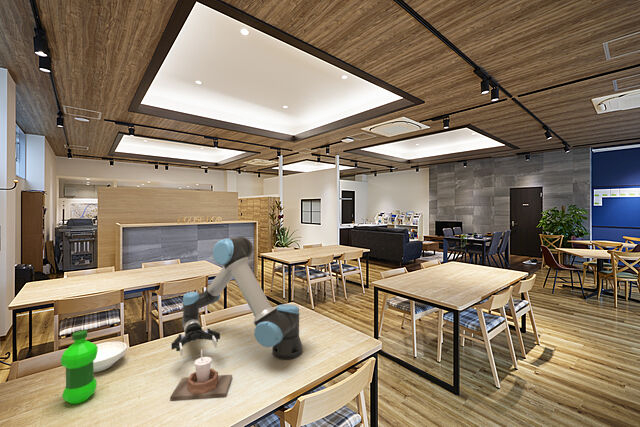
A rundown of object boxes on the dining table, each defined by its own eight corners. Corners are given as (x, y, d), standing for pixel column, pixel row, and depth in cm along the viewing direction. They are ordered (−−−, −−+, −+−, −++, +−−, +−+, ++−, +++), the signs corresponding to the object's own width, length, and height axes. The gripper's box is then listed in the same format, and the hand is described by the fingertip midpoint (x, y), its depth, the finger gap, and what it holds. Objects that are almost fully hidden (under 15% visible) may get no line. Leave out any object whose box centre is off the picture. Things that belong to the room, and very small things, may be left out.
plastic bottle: (73, 412, 98) (73, 340, 97) (55, 404, 101) (54, 336, 101) (104, 394, 107) (103, 329, 107) (86, 388, 111) (86, 325, 111)
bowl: (64, 385, 112) (64, 368, 112) (79, 362, 130) (78, 346, 130) (123, 372, 121) (123, 356, 121) (129, 352, 139) (129, 338, 139)
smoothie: (197, 380, 114) (197, 346, 113) (213, 379, 114) (213, 345, 114) (191, 390, 107) (191, 354, 107) (208, 389, 108) (208, 353, 108)
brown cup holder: (232, 378, 118) (232, 366, 118) (225, 397, 106) (225, 383, 106) (182, 381, 116) (182, 369, 115) (170, 400, 104) (170, 387, 104)
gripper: (219, 332, 144) (229, 349, 126) (164, 343, 131) (166, 365, 113) (219, 317, 144) (229, 333, 126) (164, 327, 131) (165, 346, 113)
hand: (199, 348), depth 119 cm, fingers open, 13 cm apart
